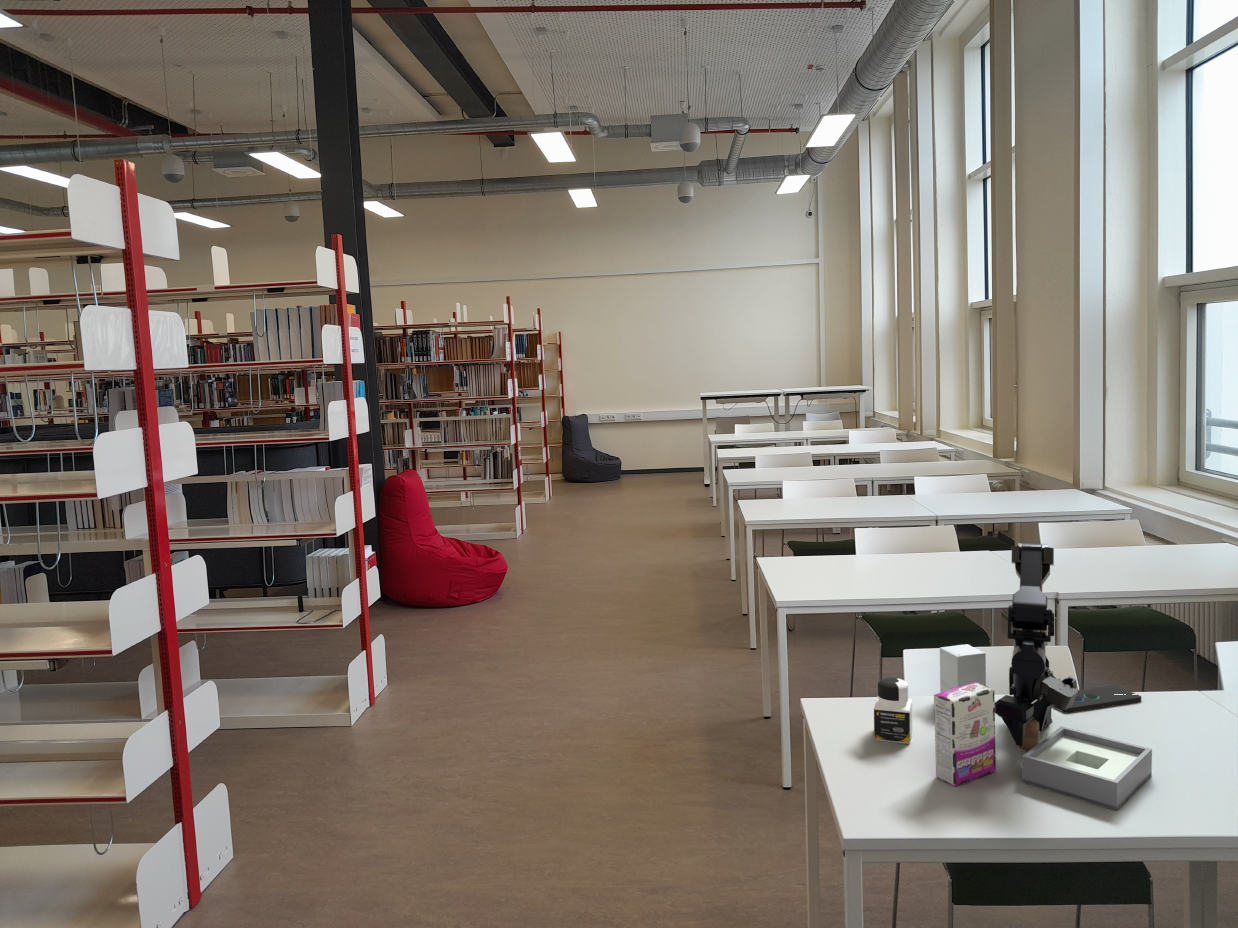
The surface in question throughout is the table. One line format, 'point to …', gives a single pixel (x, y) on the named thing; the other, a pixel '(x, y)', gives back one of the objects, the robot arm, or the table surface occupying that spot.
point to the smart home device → (1101, 698)
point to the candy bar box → (965, 733)
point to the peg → (1030, 735)
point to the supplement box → (961, 666)
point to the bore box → (1087, 767)
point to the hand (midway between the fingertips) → (1029, 738)
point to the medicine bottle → (893, 712)
